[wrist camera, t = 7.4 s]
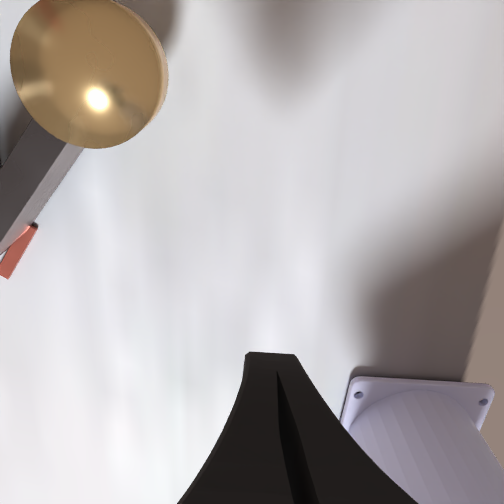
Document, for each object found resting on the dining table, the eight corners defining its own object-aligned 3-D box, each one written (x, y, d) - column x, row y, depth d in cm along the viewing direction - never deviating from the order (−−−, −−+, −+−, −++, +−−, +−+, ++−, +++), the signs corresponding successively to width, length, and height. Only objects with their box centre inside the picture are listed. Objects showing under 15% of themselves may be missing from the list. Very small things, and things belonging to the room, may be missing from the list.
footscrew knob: (98, -26, 16) (58, -47, 12) (198, 61, 17) (188, 65, 13) (-33, 190, 19) (-96, 224, 15) (60, 250, 20) (22, 295, 16)
